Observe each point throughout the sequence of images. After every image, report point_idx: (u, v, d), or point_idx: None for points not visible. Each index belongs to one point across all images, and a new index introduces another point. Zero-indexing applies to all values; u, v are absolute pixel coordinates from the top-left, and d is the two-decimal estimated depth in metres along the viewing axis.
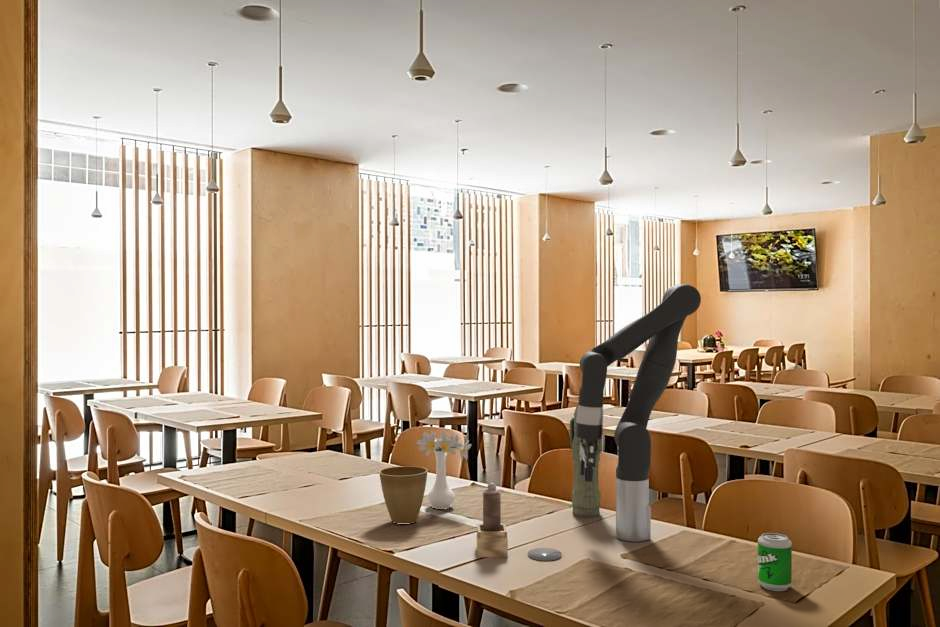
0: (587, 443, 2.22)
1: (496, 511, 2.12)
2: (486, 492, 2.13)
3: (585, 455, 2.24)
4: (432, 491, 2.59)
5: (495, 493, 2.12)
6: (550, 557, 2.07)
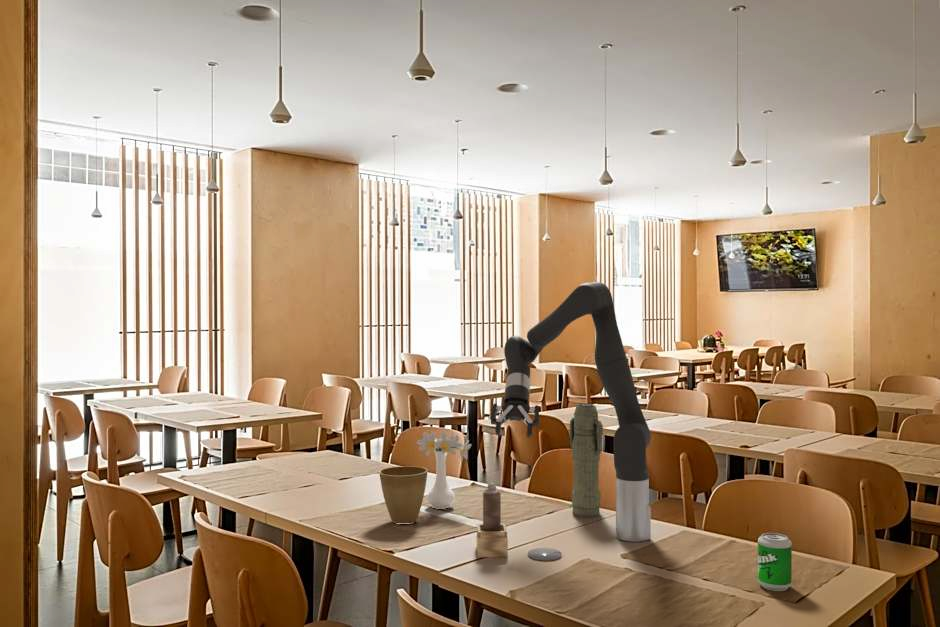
0: None
1: (496, 511, 2.12)
2: (486, 492, 2.13)
3: (507, 417, 2.34)
4: (432, 491, 2.59)
5: (495, 493, 2.12)
6: (550, 557, 2.07)
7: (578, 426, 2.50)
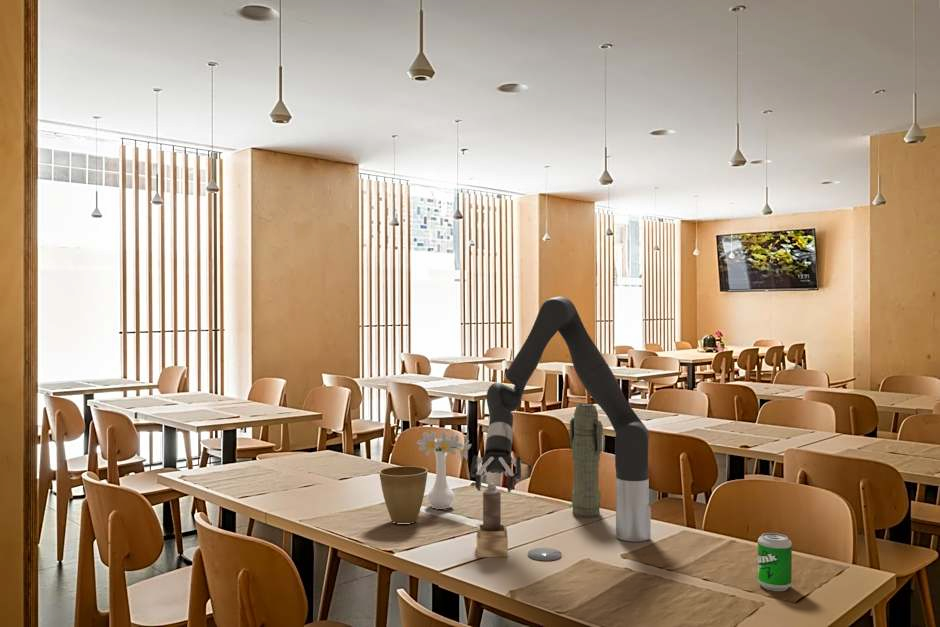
0: None
1: (496, 511, 2.12)
2: (486, 492, 2.13)
3: (488, 470, 2.25)
4: (432, 491, 2.59)
5: (495, 493, 2.12)
6: (550, 557, 2.07)
7: (578, 426, 2.50)
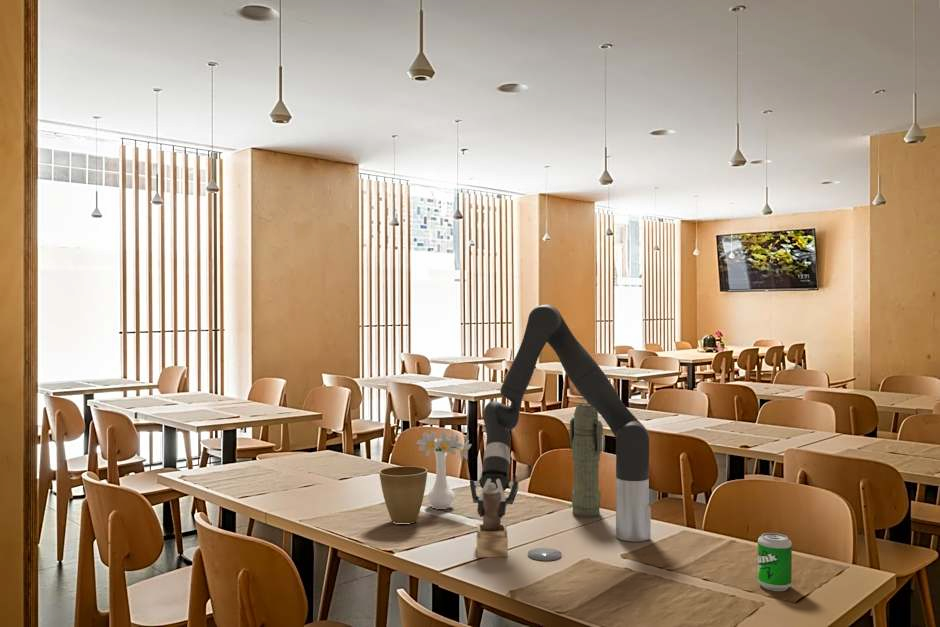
0: None
1: (496, 511, 2.12)
2: (486, 492, 2.13)
3: None
4: (432, 491, 2.59)
5: (495, 493, 2.12)
6: (550, 557, 2.07)
7: (578, 426, 2.50)
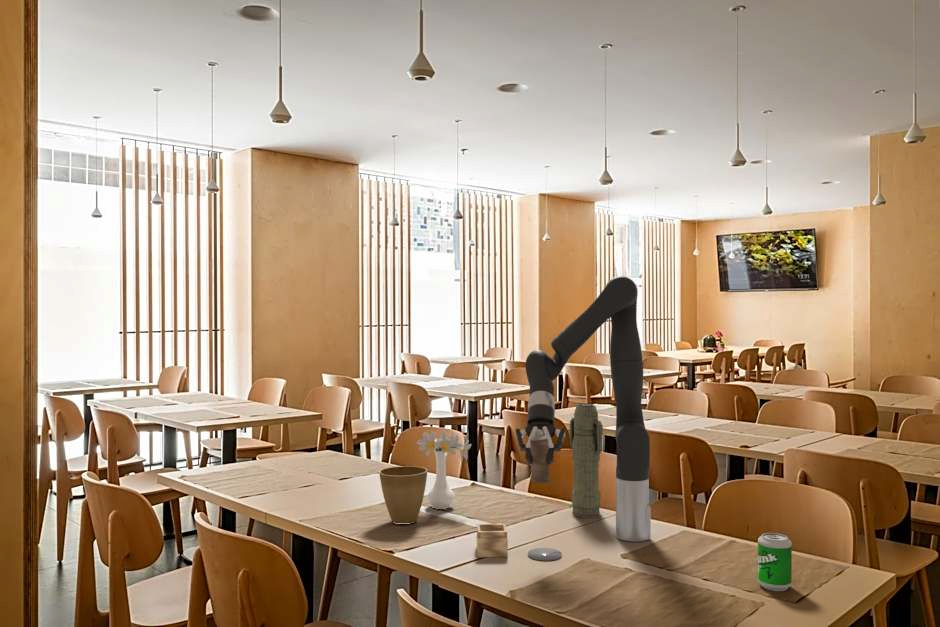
0: None
1: (545, 458, 2.09)
2: (533, 439, 2.10)
3: None
4: (432, 491, 2.59)
5: (543, 439, 2.09)
6: (550, 557, 2.07)
7: (578, 426, 2.50)
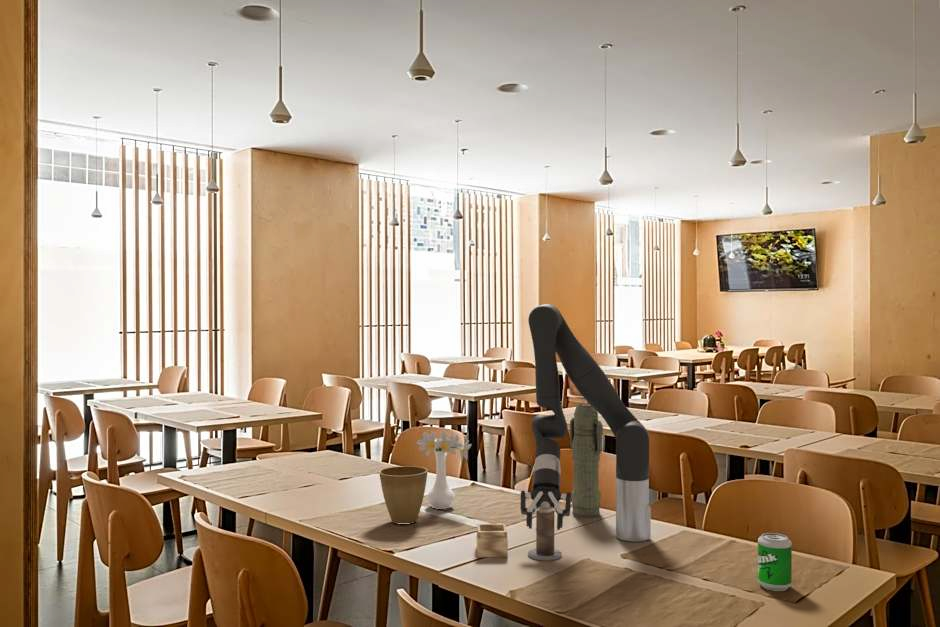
0: None
1: (550, 531, 2.09)
2: (540, 511, 2.10)
3: (537, 505, 2.15)
4: (432, 491, 2.59)
5: (549, 512, 2.09)
6: (550, 557, 2.07)
7: (578, 426, 2.50)
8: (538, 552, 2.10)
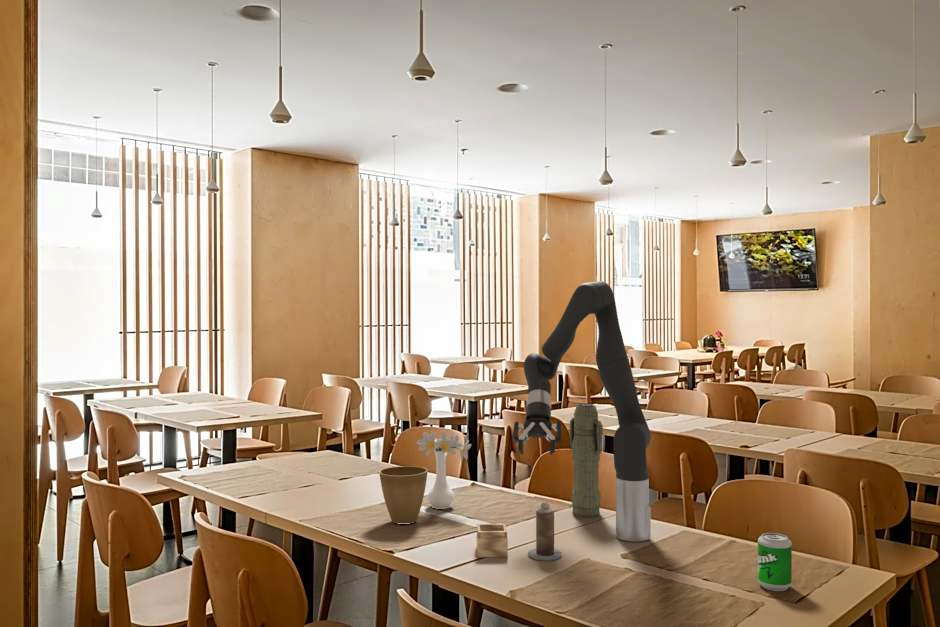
0: None
1: (550, 531, 2.09)
2: (540, 511, 2.10)
3: (529, 435, 2.33)
4: (432, 491, 2.59)
5: (549, 512, 2.09)
6: (550, 557, 2.07)
7: (578, 426, 2.50)
8: (538, 552, 2.10)
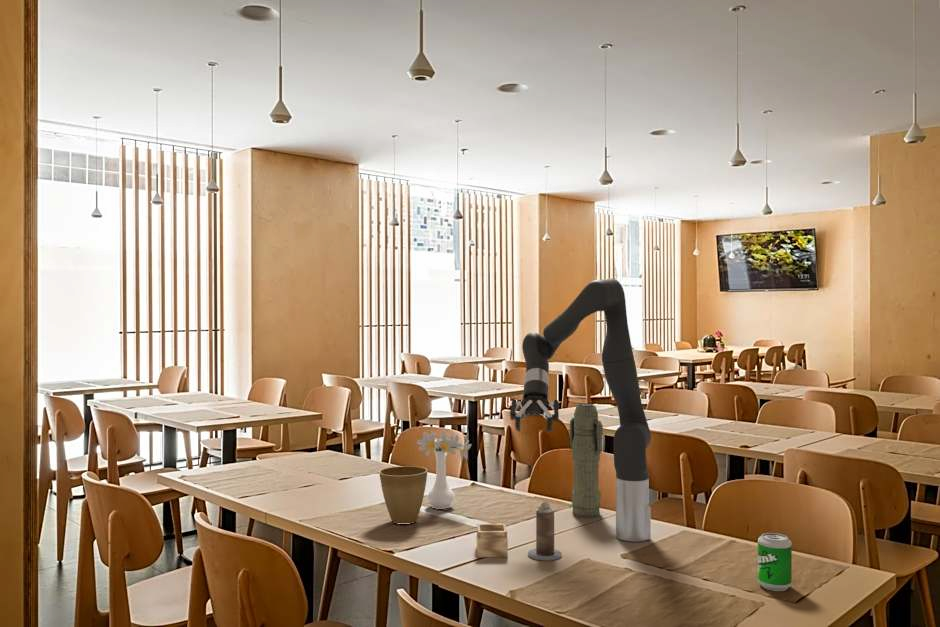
0: None
1: (550, 531, 2.09)
2: (540, 511, 2.10)
3: (526, 413, 2.34)
4: (432, 491, 2.59)
5: (549, 512, 2.09)
6: (550, 557, 2.07)
7: (578, 426, 2.50)
8: (538, 552, 2.10)
